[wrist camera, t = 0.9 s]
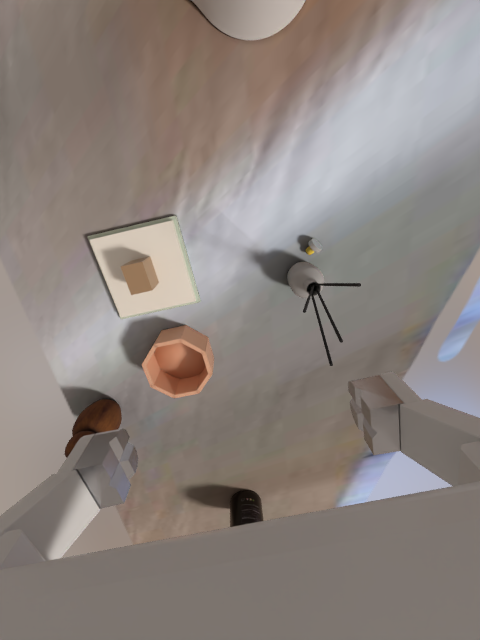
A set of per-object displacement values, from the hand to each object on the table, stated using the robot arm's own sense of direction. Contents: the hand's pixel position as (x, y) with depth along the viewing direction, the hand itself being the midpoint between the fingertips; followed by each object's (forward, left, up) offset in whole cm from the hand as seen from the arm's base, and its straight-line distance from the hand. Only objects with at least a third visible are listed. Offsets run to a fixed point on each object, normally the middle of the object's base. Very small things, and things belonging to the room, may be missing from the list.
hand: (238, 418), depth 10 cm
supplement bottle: (+52, -9, -36) cm, 64 cm away
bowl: (+14, -12, -35) cm, 40 cm away
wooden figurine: (+22, -28, -36) cm, 51 cm away
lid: (-1, -13, -35) cm, 37 cm away
